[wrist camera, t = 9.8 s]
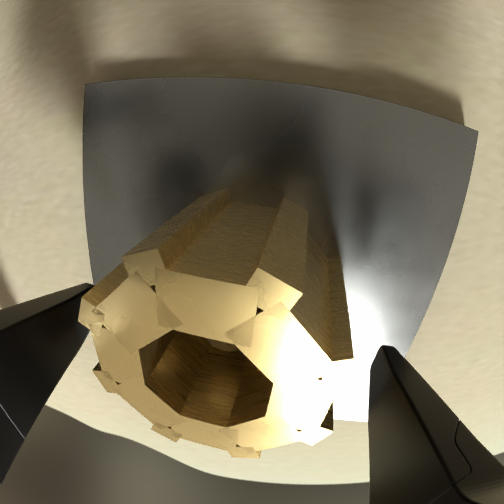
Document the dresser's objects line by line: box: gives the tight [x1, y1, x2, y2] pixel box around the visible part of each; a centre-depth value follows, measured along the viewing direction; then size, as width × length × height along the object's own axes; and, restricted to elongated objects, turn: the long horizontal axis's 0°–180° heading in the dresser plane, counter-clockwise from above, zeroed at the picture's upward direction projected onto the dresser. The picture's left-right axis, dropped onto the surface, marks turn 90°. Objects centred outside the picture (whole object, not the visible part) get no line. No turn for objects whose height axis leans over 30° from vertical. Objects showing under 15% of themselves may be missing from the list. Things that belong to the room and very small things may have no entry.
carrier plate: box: [83, 77, 478, 422], centre depth 10 cm, size 14×14×4 cm
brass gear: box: [78, 188, 357, 458], centre depth 9 cm, size 7×7×5 cm
